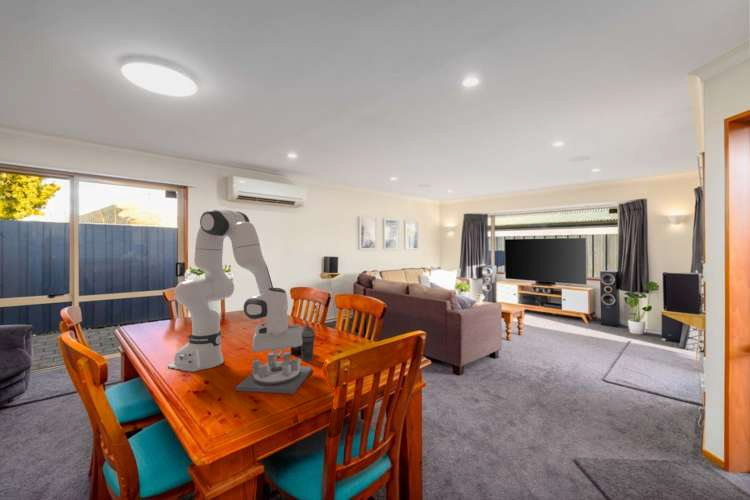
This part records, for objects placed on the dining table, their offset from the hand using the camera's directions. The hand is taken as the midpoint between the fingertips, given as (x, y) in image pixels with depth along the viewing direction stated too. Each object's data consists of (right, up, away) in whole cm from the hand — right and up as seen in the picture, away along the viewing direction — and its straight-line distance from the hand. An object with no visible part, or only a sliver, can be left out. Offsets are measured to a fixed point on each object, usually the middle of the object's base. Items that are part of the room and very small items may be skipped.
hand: (278, 359), depth 134 cm
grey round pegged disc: (+2, -4, -7) cm, 8 cm away
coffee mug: (+1, -6, +25) cm, 26 cm away
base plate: (+2, -6, -7) cm, 9 cm away
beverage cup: (+9, -6, +15) cm, 19 cm away
